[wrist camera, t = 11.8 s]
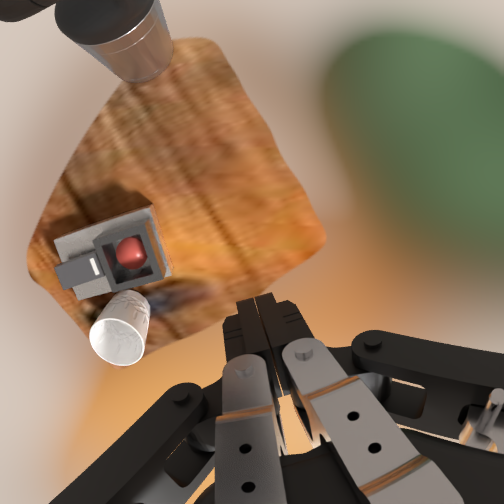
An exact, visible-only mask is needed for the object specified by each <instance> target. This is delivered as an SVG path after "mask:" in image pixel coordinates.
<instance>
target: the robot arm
mask: <svg viewBox="0 0 504 504" xmlns="http://www.w3.org/2000/svg"><path fill="white" fill-rule="evenodd" d="M55 3H56V6H55V20H56V23H57V26H58V28H59V29H60V30H61V31H62V33H64V34H65V35H66V36H67V37H69V38H70V39H71V40H73V41H74V42H75V43H76V44H78V45H79V46H80V47H82V48H83V49H84V50H86V51H87V52H88V53H90V54H91V55H92V56H93V57H94V58H96V59H97V60H98V61H99V62H101V63H102V64H103V65H104V66H106V67H107V68H108V69H109V70H111V71H112V72H113V73H114V74H115V75H117V76H118V77H119V78H121V79H122V80H124V81H127V82H132V83H141V82H145V81H149V80H151V79H153V78H155V77H156V76H158V75H160V74H161V73H162V72H163V71H164V70H165V69H166V67H167V66H168V65H169V63H170V61H171V59H172V55H173V44H172V40H171V37H170V33H169V30H168V27H167V24H166V20H165V17H164V14H163V11H162V8H161V4H160V1H159V0H0V20H1V21H4V22H17V21H21V20H23V19H26V18H28V17H30V16H32V15H34V14H36V13H38V12H40V11H42V10H44V9H46V8H47V7H49V6H51V5H53V4H55ZM255 301H256V305H257V308H258V311H257V308H256V305H255V302H254V299H253V298H249V299H246V300H242V301H238V302H236V304H237V309H238V314H236V315H232V316H228V317H226V319H225V321H224V323H223V334H224V343H225V352H226V361H227V364H226V365H225V367H224V369H223V376H222V377H221V378H220V379H219V380H218V381H216V382H215V383H213V384H211V385H209V386H207V387H205V388H203V389H201V387H200V386H198V385H196V384H194V383H181V384H177V385H175V386H173V387H171V388H170V389H168V390H167V391H166V392H165V393H164V394H163V395H162V396H161V397H160V398H159V399H158V400H157V401H156V402H155V403H154V404H153V405H152V406H151V407H150V408H149V409H148V410H147V411H146V412H145V413H144V414H143V415H142V416H141V417H140V418H139V419H138V420H137V421H136V422H135V423H134V424H133V425H132V426H131V427H130V428H129V429H128V430H127V431H126V432H125V433H124V434H123V435H122V436H121V437H120V438H119V439H118V440H117V441H116V442H114V443H113V444H112V446H110V447H109V448H108V449H107V450H106V451H105V452H104V453H103V454H102V455H101V456H100V457H99V458H98V459H97V460H96V461H95V462H93V463H92V464H91V466H89V467H88V468H87V469H86V470H85V471H84V472H83V473H82V474H81V475H80V476H78V478H76V479H75V480H74V481H73V482H72V483H71V484H70V485H69V486H68V487H66V489H64V490H63V491H62V492H61V493H60V494H59V495H58V496H56V497H55V498H54V499H53V500H52V501H51V502H50V503H49V504H185V503H186V502H187V500H188V499H189V498H190V497H191V496H192V494H193V493H194V492H195V491H196V489H197V488H198V487H199V486H200V484H201V483H202V482H203V481H204V480H205V478H206V477H207V475H208V474H209V473H210V472H211V471H212V469H213V468H214V467H215V482H214V483H213V484H211V485H210V486H209V487H208V488H206V489H205V490H204V492H203V493H202V494H201V495H200V496H199V497H198V498H197V500H196V501H195V502H194V504H504V354H502V353H496V352H489V351H483V350H477V349H472V348H466V347H461V346H455V345H450V344H444V343H439V342H433V341H429V340H424V339H419V338H414V337H409V336H404V335H400V334H395V333H390V332H386V331H380V330H369V331H365V332H363V333H360V334H359V335H357V336H356V337H355V338H354V339H353V341H352V344H351V346H348V347H339V348H331V347H326V346H325V345H324V344H323V343H322V342H321V341H320V340H317V339H315V338H314V336H313V334H312V333H311V331H310V329H309V327H308V325H307V324H306V322H305V320H304V319H303V317H302V315H301V313H300V311H299V309H298V308H297V306H296V304H293V303H292V302H290V301H288V300H286V301H283V302H279V303H276V300H275V298H274V296H273V294H272V292H271V293H267V294H264V295H260V296H256V297H255ZM258 313H259V314H258ZM259 316H260V317H259ZM275 369H276V370H275ZM276 372H277V374H276ZM277 375H278V378H279V381H280V384H281V387H282V390H283V393H284V396H285V395H289V394H291V397H292V400H293V404H294V409H295V412H296V414H297V416H298V418H299V420H300V422H301V424H302V426H303V428H304V431H305V433H306V435H307V437H308V439H309V441H310V443H311V445H312V447H313V449H312V450H311V451H309V452H307V453H303V454H293V455H288V452H287V447H286V441H285V436H284V431H283V426H282V420H281V415H280V412H279V411H280V405H279V401H278V398H279V397H282V393H281V389H280V385H279V381H278V378H277ZM392 378H395V379H398V380H402V381H407V382H410V383H414V384H418V385H421V386H422V387H424V388H425V389H422V388H418V387H414V386H410V385H406V384H402V383H399V382H395V381H392ZM396 423H397V424H400V425H404V426H407V427H410V428H414V429H417V430H421V431H425V432H429V433H432V434H436V435H440V436H444V437H448V438H453V439H457V440H459V441H460V444H459V443H455V442H451V441H448V440H444V439H441V438H437V437H434V436H430V435H427V434H424V433H421V432H418V431H414V430H410V429H405V428H399V427H398V426H397V424H396ZM180 443H181V444H180ZM179 444H180V445H179ZM178 445H179V446H178ZM173 451H174V452H173ZM172 452H173V453H172ZM171 453H172V454H171ZM170 454H171V455H170Z"/></svg>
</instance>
